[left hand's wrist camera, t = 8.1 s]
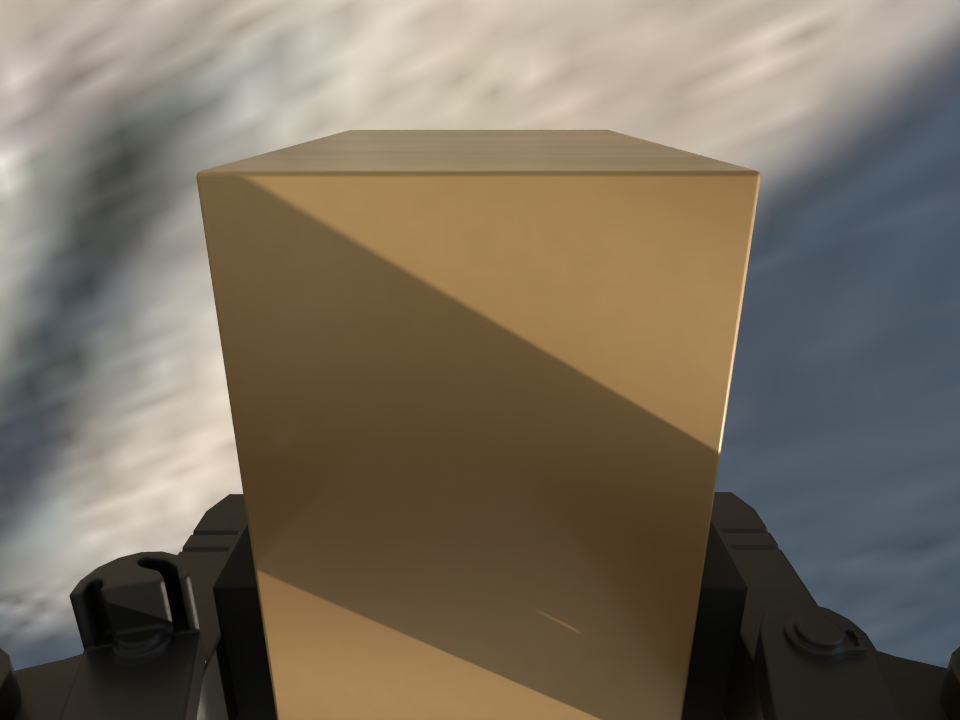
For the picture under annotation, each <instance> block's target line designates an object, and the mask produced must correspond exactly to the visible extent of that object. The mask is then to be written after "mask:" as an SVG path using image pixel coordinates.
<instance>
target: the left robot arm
mask: <svg viewBox="0 0 960 720" xmlns="http://www.w3.org/2000/svg"><path fill="white" fill-rule="evenodd" d="M70 599H71V603H72V606H73V610H74V614H75V617H76V621H77V625H78V628H79V632H80V636H81V639H82V643H83V647H84V652H83V654H80V655H77V656H74V657H71V658H67V659H64V660H60V661H55V662H51V663H47V664H42V665H38V666H34V667H30V668H25V669H21V670H17V671H14V669H13V666H12V663H11V660H10V657H9V655H8V654H6V653H5V652H4V651H3V650H2V649H1V648H0V720H277V716H276V710H275V703H274V696H273V689H272V683H271V676H270V669H269V662H268V656H267V649H266V642H265V636H264V629H263V622H262V615H261V609H260V602H259V595H258V588H257V582H256V575H255V568H254V561H253V555H252V548H251V541H250V534H249V528H248V521H247V514H246V507H245V501H244V494H229V495H228V496H227V497H225V498H224V499H223V500H221V501H220V502H218V503H217V504H216V505H214V506H213V507H212V508H210V509H209V510H208V511H206V513H205V514H204V516H203V517H202V519H201V520H200V522H199V524H198V525H197V527H196V528H195V530H194V533H193V535H191V536H190V537H189V539H188V540H187V542H186V543H185V545H184V546H183V551H182V552H179V554H178V555H174V554H170V553H166V552H141V553H137V554H133V555H129V556H125V557H121V558H118V559H116V560H113V561H111V562H109V563H107V564H105V565H102V566H100V567H98V568H97V569H95V570H94V571H93V572H91V573H90V574H89V575H87V576H86V577H85V578H83V579H82V580H81V581H80V582H79V583H78V584H77V586H76V587H75V588H74V590H73V591H72V593H71V594H70ZM682 720H960V647H959V648H958V649H957V650H955V651H954V652H953V653H952V656H951V659H950V662H949V665H948V668H943V667H938V666H934V665H930V664H926V663H921V662H917V661H913V660H908V659H904V658H900V657H896V656H892V655H889V654H886V653H882V652H879V651H876V649H875V647H874V646H873V644H872V642H871V641H870V639H869V638H868V636H867V635H866V633H865V632H863V631H862V630H861V629H860V628H859V627H857V626H856V625H855V624H854V623H853V622H851V621H850V620H849V619H847V618H845V617H843V616H841V615H839V614H837V613H835V612H834V611H832V610H830V609H827V608H823V607H820V606H818V605H817V603H816V602H815V600H814V599H813V597H812V596H811V594H810V593H809V591H808V590H807V588H806V587H805V585H804V584H803V582H802V581H801V579H800V578H799V576H798V575H797V573H796V572H795V570H794V569H793V567H792V566H791V564H790V563H789V561H788V559H787V558H786V556H785V555H784V553H783V552H782V550H779V549H778V544H777V543H776V541H775V540H774V538H773V537H772V535H771V534H770V533H768V532H767V528H766V526H765V525H764V523H763V522H762V520H761V519H760V517H759V516H758V514H757V513H756V511H755V510H754V509H753V508H752V507H751V506H749V505H748V504H746V503H745V502H744V501H742V500H741V499H740V498H738V497H737V496H735V495H734V494H733V493H731V492H715V493H714V500H713V507H712V514H711V521H710V527H709V534H708V541H707V548H706V555H705V562H704V569H703V575H702V582H701V589H700V596H699V603H698V610H697V617H696V623H695V630H694V637H693V644H692V651H691V658H690V665H689V672H688V678H687V685H686V692H685V699H684V706H683V713H682Z"/></svg>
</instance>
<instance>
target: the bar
mask: <svg viewBox="0 0 960 720" xmlns="http://www.w3.org/2000/svg"><path fill="white" fill-rule="evenodd" d="M760 178H761V176H760V172H758V171H755V170H752V169H748V168H744V167H741V166H737V165H733V164H730V163H726V162H723V161H719V160H715V159H712V158H708V157H704V156H701V155H697V154H693V153H690V152H686V151H682V150H679V149H675V148H671V147H668V146H664V145H661V144H657V143H653V142H650V141H646V140H642V139H639V138H635V137H631V136H628V135H624V134H620V133H617V132H613V131H610V130H349V131H346V132H342V133H338V134H335V135H331V136H327V137H324V138H320V139H316V140H313V141H309V142H305V143H302V144H298V145H294V146H291V147H287V148H283V149H280V150H276V151H272V152H269V153H265V154H261V155H258V156H254V157H251V158H247V159H243V160H240V161H236V162H232V163H229V164H225V165H221V166H218V167H214V168H210V169H207V170H203V171H200V172H198V173H197V184H198V190H199V197H200V204H201V211H202V217H203V224H204V231H205V238H206V244H207V251H208V258H209V265H210V271H211V278H212V285H213V292H214V298H215V305H216V312H217V319H218V325H219V332H220V339H221V346H222V352H223V359H224V366H225V372H226V379H227V386H228V393H229V399H230V406H231V413H232V420H233V426H234V433H235V440H236V447H237V453H238V460H239V467H240V474H241V480H242V487H243V494H244V501H245V507H246V514H247V521H248V528H249V534H250V541H251V548H252V555H253V561H254V568H255V575H256V582H257V588H258V595H259V602H260V609H261V615H262V622H263V629H264V636H265V642H266V649H267V656H268V662H269V669H270V676H271V683H272V689H273V696H274V703H275V710H276V716H277V720H682V713H683V706H684V699H685V692H686V685H687V678H688V672H689V665H690V658H691V651H692V644H693V637H694V630H695V623H696V617H697V610H698V603H699V596H700V589H701V582H702V575H703V569H704V562H705V555H706V548H707V541H708V534H709V527H710V521H711V514H712V507H713V500H714V493H715V486H716V479H717V473H718V466H719V459H720V452H721V445H722V438H723V431H724V425H725V418H726V411H727V404H728V397H729V390H730V383H731V377H732V370H733V363H734V356H735V349H736V342H737V335H738V329H739V322H740V315H741V308H742V301H743V294H744V287H745V281H746V274H747V267H748V260H749V253H750V246H751V239H752V233H753V226H754V219H755V212H756V205H757V198H758V191H759V185H760Z"/></svg>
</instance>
